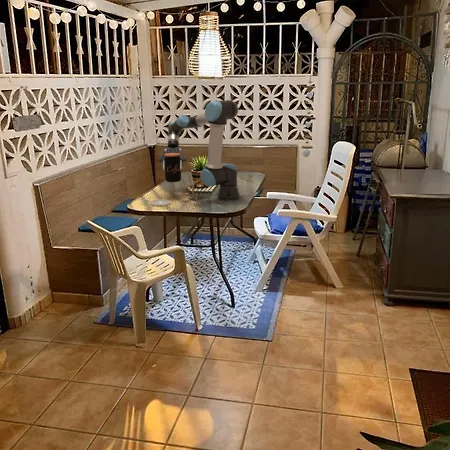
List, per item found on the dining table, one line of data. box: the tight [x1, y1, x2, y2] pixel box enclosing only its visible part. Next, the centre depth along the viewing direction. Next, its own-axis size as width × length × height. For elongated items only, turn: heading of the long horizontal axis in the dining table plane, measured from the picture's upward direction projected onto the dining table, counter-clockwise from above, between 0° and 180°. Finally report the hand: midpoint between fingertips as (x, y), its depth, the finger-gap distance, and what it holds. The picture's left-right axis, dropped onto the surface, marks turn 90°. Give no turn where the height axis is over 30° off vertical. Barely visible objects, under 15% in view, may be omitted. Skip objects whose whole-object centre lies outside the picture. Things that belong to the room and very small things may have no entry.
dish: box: [149, 198, 172, 208], centre depth 310 cm, size 13×13×2 cm
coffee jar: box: [163, 152, 182, 183], centre depth 317 cm, size 11×11×18 cm
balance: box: [182, 178, 204, 202], centre depth 318 cm, size 6×17×13 cm, turn 133°
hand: (172, 169), depth 314 cm, fingers closed on coffee jar, 11 cm apart
